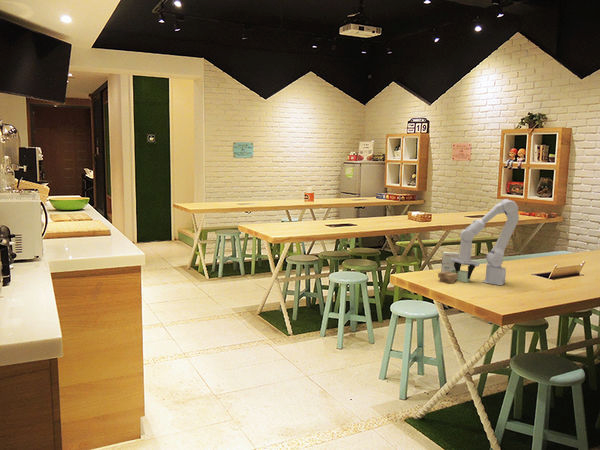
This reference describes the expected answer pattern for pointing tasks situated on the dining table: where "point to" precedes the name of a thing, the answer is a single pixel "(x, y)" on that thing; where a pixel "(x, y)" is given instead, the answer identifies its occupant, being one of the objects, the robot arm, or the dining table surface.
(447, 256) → the ink box
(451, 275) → the top tile
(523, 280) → the dining table surface
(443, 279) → the bottom tile
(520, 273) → the dining table surface
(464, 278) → the mint block
